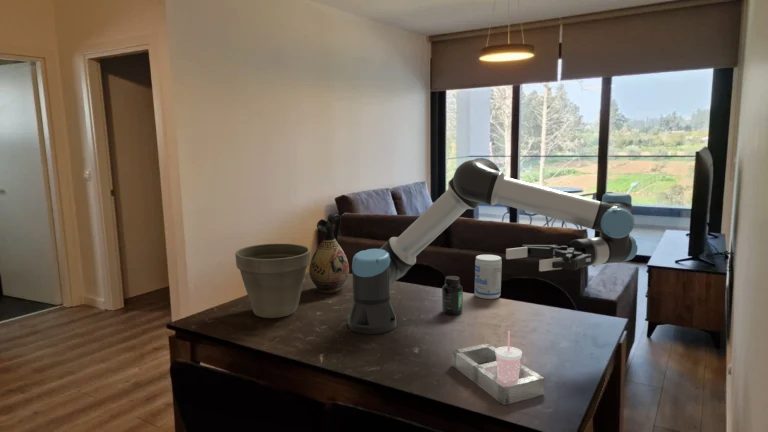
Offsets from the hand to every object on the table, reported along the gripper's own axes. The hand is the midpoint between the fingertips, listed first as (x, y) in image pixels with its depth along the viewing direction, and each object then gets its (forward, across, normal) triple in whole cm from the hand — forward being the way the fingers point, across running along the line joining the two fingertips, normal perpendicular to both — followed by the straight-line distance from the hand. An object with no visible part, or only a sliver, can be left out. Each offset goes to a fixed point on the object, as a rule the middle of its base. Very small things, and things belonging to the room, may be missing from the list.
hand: (522, 259), depth 131 cm
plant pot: (+52, +66, -28) cm, 88 cm away
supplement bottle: (-2, +39, -27) cm, 48 cm away
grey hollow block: (+13, -8, -27) cm, 31 cm away
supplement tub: (-23, +49, -27) cm, 61 cm away
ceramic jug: (+27, +83, -28) cm, 92 cm away
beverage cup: (+13, -13, -27) cm, 32 cm away
